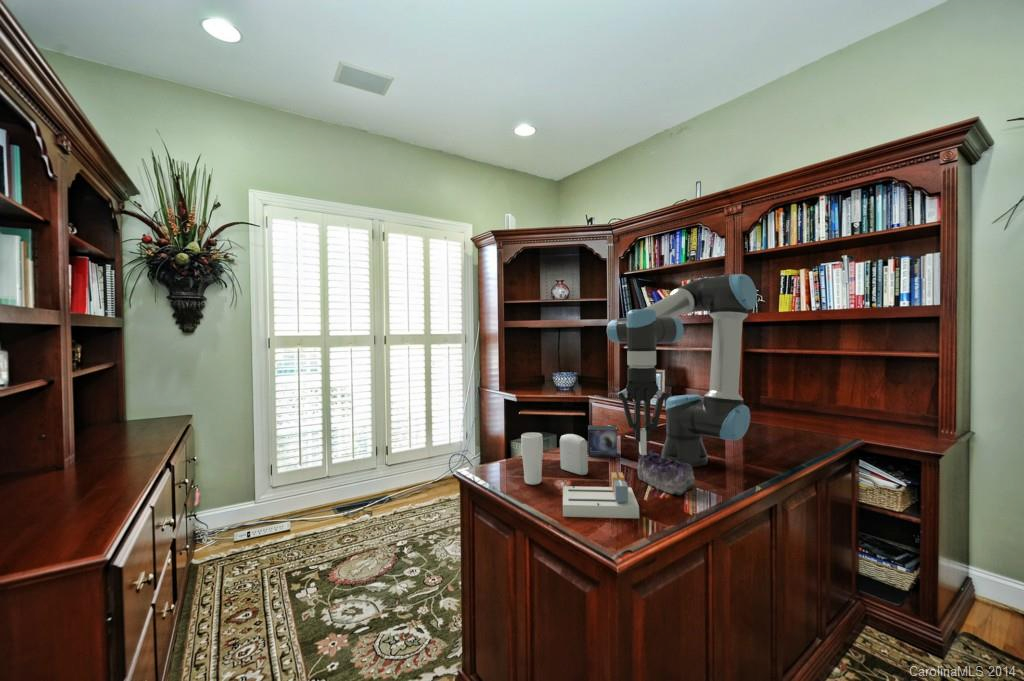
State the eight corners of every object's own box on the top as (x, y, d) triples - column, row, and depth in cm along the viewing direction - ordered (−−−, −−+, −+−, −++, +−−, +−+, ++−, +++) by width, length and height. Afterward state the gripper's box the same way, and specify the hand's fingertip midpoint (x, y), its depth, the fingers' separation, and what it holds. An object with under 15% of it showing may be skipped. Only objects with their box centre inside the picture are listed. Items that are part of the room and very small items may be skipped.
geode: (623, 478, 137) (624, 446, 137) (650, 477, 142) (651, 446, 142) (673, 497, 118) (675, 461, 119) (702, 495, 124) (703, 459, 124)
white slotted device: (558, 469, 147) (557, 433, 147) (567, 466, 150) (566, 431, 149) (581, 476, 139) (580, 438, 139) (590, 473, 142) (589, 436, 141)
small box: (588, 457, 159) (587, 429, 159) (588, 452, 166) (587, 425, 166) (617, 457, 158) (616, 429, 157) (616, 452, 164) (615, 425, 164)
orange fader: (622, 486, 120) (622, 471, 119) (624, 492, 116) (624, 476, 115) (611, 486, 120) (611, 471, 120) (613, 492, 116) (612, 476, 116)
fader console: (631, 497, 121) (631, 486, 120) (639, 518, 108) (639, 505, 108) (563, 496, 123) (562, 485, 123) (563, 516, 110) (562, 504, 110)
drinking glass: (529, 487, 130) (527, 438, 130) (518, 481, 136) (517, 434, 136) (547, 483, 134) (546, 435, 133) (536, 477, 140) (535, 431, 139)
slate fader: (625, 495, 113) (625, 480, 113) (628, 502, 109) (627, 485, 109) (614, 495, 113) (613, 479, 113) (615, 501, 109) (615, 485, 109)
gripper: (663, 365, 119) (664, 450, 119) (615, 365, 120) (616, 449, 121) (670, 367, 111) (671, 458, 112) (618, 368, 113) (619, 457, 113)
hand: (642, 453), depth 116 cm, fingers closed
